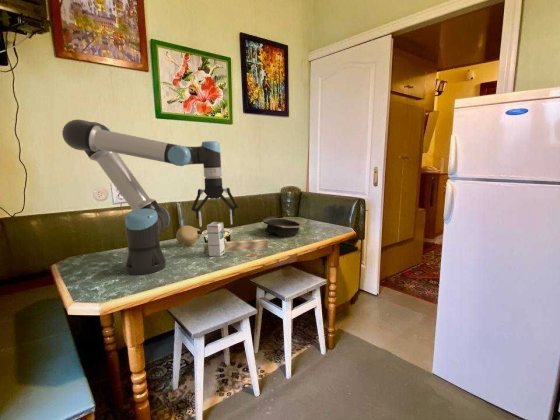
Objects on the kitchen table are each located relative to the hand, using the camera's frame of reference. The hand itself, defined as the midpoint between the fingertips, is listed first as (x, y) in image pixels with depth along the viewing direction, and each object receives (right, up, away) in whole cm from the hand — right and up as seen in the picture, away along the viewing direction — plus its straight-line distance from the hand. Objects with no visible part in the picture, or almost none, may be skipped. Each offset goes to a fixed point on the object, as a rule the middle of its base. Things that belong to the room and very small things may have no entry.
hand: (216, 224), depth 137 cm
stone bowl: (+31, -7, +38) cm, 49 cm away
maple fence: (+9, -13, +4) cm, 16 cm away
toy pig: (-17, -12, +17) cm, 26 cm away
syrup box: (0, -14, +3) cm, 14 cm away
